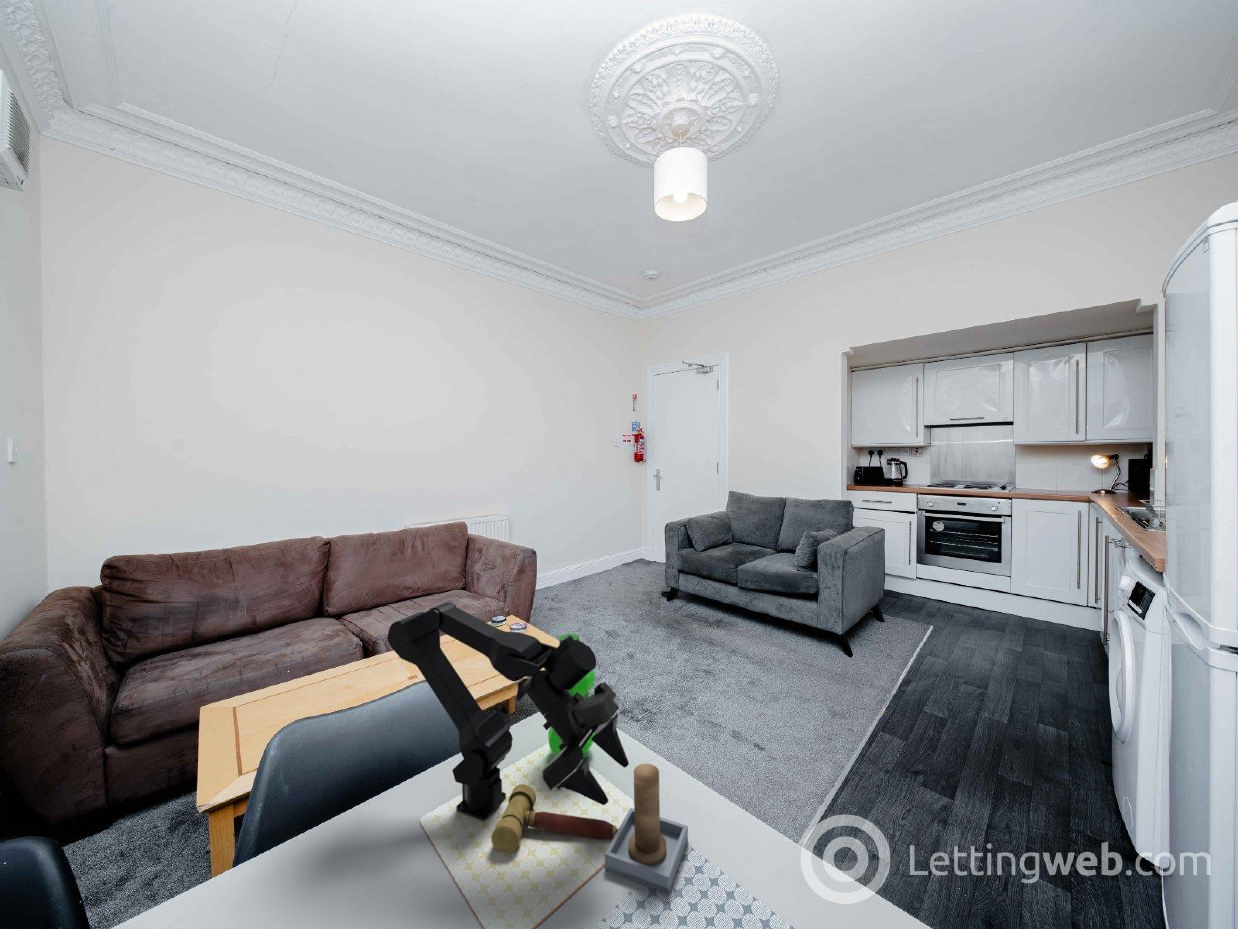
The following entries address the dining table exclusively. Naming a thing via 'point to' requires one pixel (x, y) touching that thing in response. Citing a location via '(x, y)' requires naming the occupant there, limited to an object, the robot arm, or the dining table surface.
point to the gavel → (541, 822)
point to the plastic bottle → (580, 688)
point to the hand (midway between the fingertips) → (617, 783)
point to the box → (643, 874)
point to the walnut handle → (647, 818)
